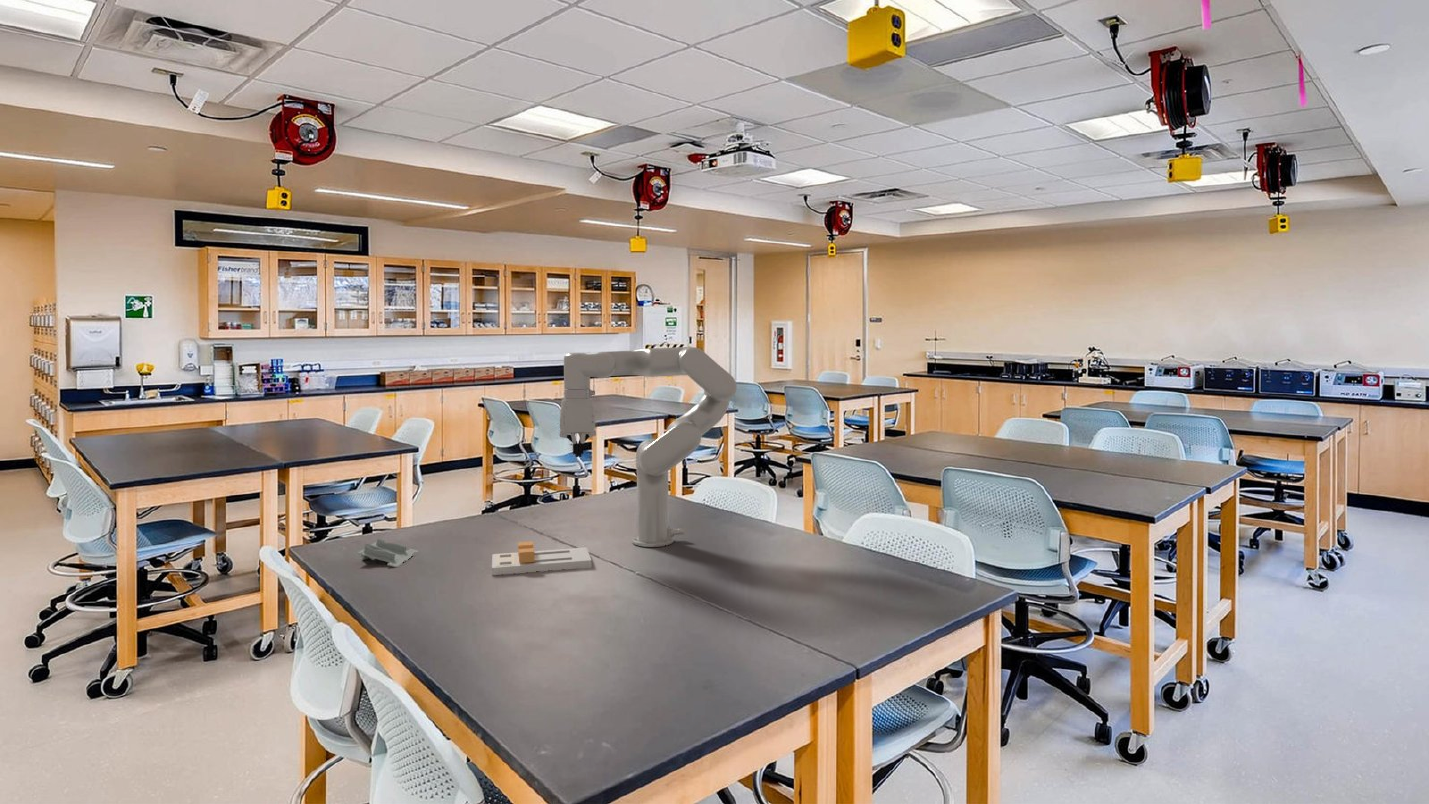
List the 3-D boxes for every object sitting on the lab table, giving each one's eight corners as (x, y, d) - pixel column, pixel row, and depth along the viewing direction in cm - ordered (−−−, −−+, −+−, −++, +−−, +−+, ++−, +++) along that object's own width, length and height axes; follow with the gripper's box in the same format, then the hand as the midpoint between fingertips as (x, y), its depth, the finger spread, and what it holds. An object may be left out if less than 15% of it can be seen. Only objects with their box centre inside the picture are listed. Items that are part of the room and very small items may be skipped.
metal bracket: (352, 547, 207) (378, 533, 222) (347, 567, 208) (373, 551, 223) (403, 562, 207) (425, 547, 222) (397, 582, 208) (420, 565, 223)
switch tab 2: (534, 558, 208) (533, 548, 208) (534, 561, 204) (534, 551, 204) (518, 559, 207) (518, 549, 207) (519, 563, 203) (519, 552, 203)
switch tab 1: (532, 551, 215) (532, 541, 214) (533, 554, 211) (533, 544, 211) (518, 552, 213) (517, 542, 213) (518, 555, 210) (518, 545, 210)
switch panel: (586, 554, 220) (586, 546, 220) (591, 567, 207) (591, 559, 207) (492, 561, 213) (492, 553, 213) (492, 575, 201) (491, 567, 200)
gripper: (601, 393, 230) (601, 453, 232) (550, 394, 226) (551, 455, 228) (604, 395, 223) (605, 457, 225) (552, 396, 219) (553, 459, 221)
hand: (578, 456), depth 226 cm, fingers closed
